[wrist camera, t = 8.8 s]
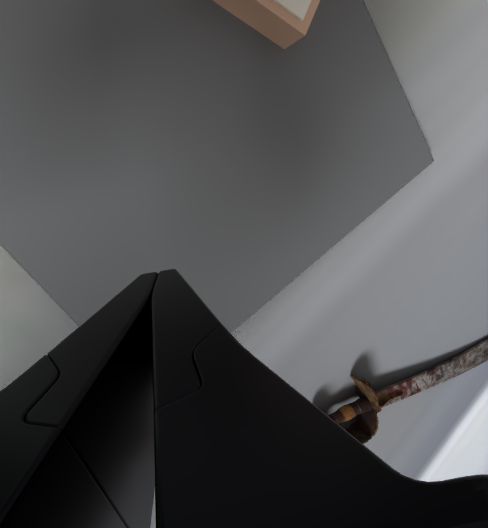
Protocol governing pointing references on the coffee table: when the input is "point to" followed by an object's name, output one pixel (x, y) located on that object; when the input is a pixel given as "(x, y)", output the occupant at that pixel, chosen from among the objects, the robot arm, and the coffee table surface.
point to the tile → (274, 17)
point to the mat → (191, 146)
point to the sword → (402, 391)
